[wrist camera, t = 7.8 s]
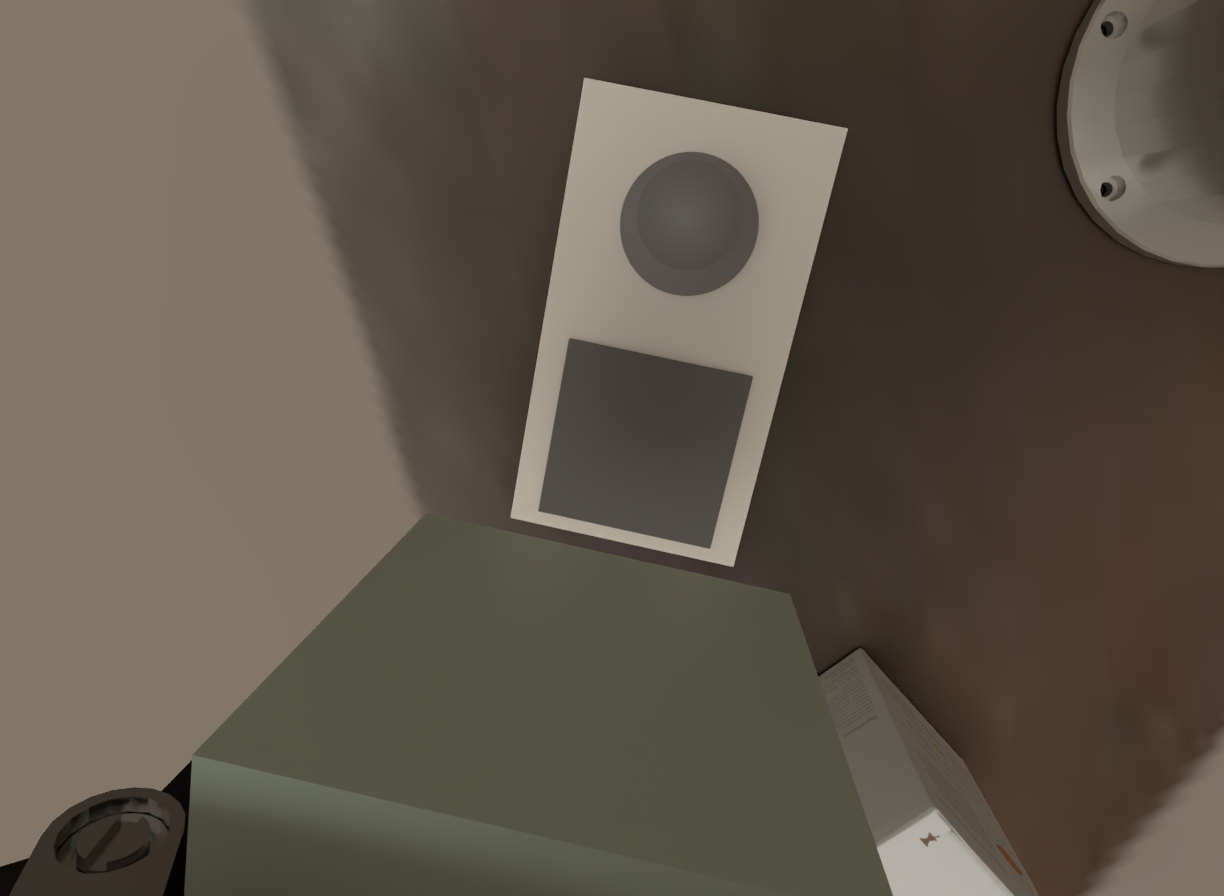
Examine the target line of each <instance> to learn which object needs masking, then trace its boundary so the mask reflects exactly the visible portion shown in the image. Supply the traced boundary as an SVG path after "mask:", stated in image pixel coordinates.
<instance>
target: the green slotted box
mask: <svg viewBox="0 0 1224 896" xmlns="http://www.w3.org/2000/svg"><path fill="white" fill-rule="evenodd" d="M184 896H893V894H892V891H891V888H890V885H889V882H888V879H887V876H886V873H885V870H884V867H883V865H882V862H881V859H880V856H879V853H878V850H877V847H876V844H875V841H874V838H873V835H872V832H871V829H870V827H869V824H868V821H867V818H866V815H865V812H864V809H863V806H862V803H861V800H860V797H859V794H858V791H857V789H856V786H855V783H854V780H853V777H852V774H851V771H850V768H849V765H848V762H847V759H846V756H845V754H844V751H843V748H842V745H841V742H840V739H839V736H838V733H837V730H836V727H835V724H834V721H833V718H832V716H831V713H830V710H829V707H828V704H827V701H826V698H825V695H824V692H823V689H822V686H821V683H820V680H819V678H818V675H817V672H816V669H815V666H814V663H813V660H812V657H811V654H810V651H809V648H808V645H807V642H806V640H805V637H804V634H803V631H802V628H801V625H800V622H799V619H798V616H797V613H796V610H795V607H794V604H793V602H792V599H791V596H790V594H787V593H783V592H778V591H774V590H769V589H765V588H760V587H756V586H751V585H747V584H742V583H738V582H733V581H729V580H724V579H720V578H715V577H711V576H706V575H702V574H697V573H693V572H688V571H684V570H679V569H675V568H670V567H666V566H661V565H657V564H652V563H648V562H643V561H639V560H634V559H630V558H625V557H621V556H616V555H612V554H607V553H603V552H598V551H594V550H589V549H585V548H580V547H576V546H571V545H567V544H562V543H558V542H553V541H549V540H545V539H540V538H536V537H531V536H527V535H522V534H518V533H513V532H509V531H504V530H500V529H495V528H491V527H486V526H482V525H477V524H473V523H468V522H464V521H459V520H455V519H450V518H446V517H441V516H437V515H432V514H428V513H426V514H425V515H424V516H423V517H422V518H421V519H420V520H419V521H418V522H417V523H416V524H415V525H414V526H413V527H412V529H411V530H410V531H409V532H408V533H407V534H406V535H405V536H404V537H403V538H402V539H401V540H400V541H399V542H398V543H397V544H396V545H395V546H394V547H393V548H392V549H391V550H390V551H389V552H388V554H386V555H385V556H384V557H383V558H382V559H381V561H380V562H379V563H378V564H377V565H376V566H375V567H374V568H373V569H372V570H371V571H370V572H369V573H368V574H367V575H366V576H365V577H364V578H363V579H362V580H361V581H360V582H359V583H358V584H357V586H355V588H353V589H352V590H351V592H350V593H349V594H348V595H347V596H346V597H345V598H344V599H343V600H342V601H341V602H340V603H339V604H338V605H337V606H336V607H335V608H334V609H333V610H332V611H331V612H330V613H329V614H328V615H327V616H326V617H325V618H324V619H323V620H322V621H321V623H320V624H319V625H318V626H317V627H316V628H315V629H314V630H313V631H312V632H311V633H310V634H309V635H308V636H307V637H306V638H305V639H304V640H303V641H302V642H301V643H300V644H299V645H298V646H297V647H296V648H295V649H294V650H293V652H291V654H290V655H289V656H288V657H287V658H286V659H285V660H284V661H283V662H282V663H281V664H280V665H279V666H278V667H277V668H276V669H275V670H274V671H273V672H272V673H271V674H270V675H269V676H268V677H267V678H266V679H265V680H264V681H263V682H262V684H261V685H260V686H259V687H258V688H257V689H256V690H255V691H254V692H253V693H252V694H251V695H250V696H249V697H248V698H247V699H246V700H245V701H244V702H243V703H242V704H241V705H240V706H239V707H238V708H237V709H236V710H235V711H234V712H233V713H232V714H231V716H230V717H229V718H228V719H227V720H226V721H225V722H224V723H223V724H222V725H221V726H220V727H219V728H218V729H217V730H216V731H215V732H214V733H213V734H212V735H211V736H210V737H209V738H208V739H207V740H206V741H205V742H204V743H203V745H202V746H201V747H200V748H199V749H198V750H197V751H196V752H195V753H194V754H193V755H192V769H191V786H190V803H189V820H188V837H187V854H186V871H185V888H184Z"/></svg>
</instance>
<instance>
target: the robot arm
mask: <svg viewBox="0 0 1224 896" xmlns="http://www.w3.org/2000/svg"><path fill="white" fill-rule="evenodd" d="M1101 25H1103V26H1104V27H1106V30H1107V33H1106V36H1104V35H1103V34H1102V31H1101V28H1100V27H1101ZM1057 139H1058V144H1059V149H1060V154H1061V158H1062V163H1063V168H1064V171H1065V173H1066V175H1067V178H1068V180H1069V182H1070V184H1071V187H1072V189H1073V191H1074V193H1075V196H1076V198H1077V199H1078V201H1079V202H1080V203H1081V205H1082V206H1083V207H1084V209H1085V210H1086V211H1087V213H1088V214H1089V215H1090V217H1091V218H1092V219H1093V221H1094V222H1095V223H1096V224H1097V225H1098V226H1099V227H1101V228H1102V229H1103V230H1104V231H1105V232H1106V233H1108V234H1109V235H1110V236H1111V237H1112V238H1113V239H1115V240H1116V241H1117V242H1119V243H1120V244H1122V245H1124V246H1126V247H1128V248H1130V249H1132V250H1134V251H1136V252H1137V253H1139V254H1141V255H1143V256H1145V257H1149V258H1152V259H1156V260H1159V261H1163V262H1166V263H1170V264H1173V265H1182V266H1194V267H1206V268H1211V267H1224V0H1094V1H1093V3H1092V5H1091V6H1090V8H1089V10H1088V12H1087V14H1086V15H1085V17H1084V19H1083V21H1082V23H1081V24H1080V26H1079V28H1078V30H1077V32H1076V34H1075V36H1074V39H1073V42H1072V45H1071V47H1070V50H1069V53H1068V56H1067V59H1066V61H1065V64H1064V67H1063V71H1062V77H1061V82H1060V88H1059V94H1058V100H1057ZM1102 184H1104V185H1105V187H1106V192H1105V194H1104V195H1103V196H1101V192H1100V189H1101V185H1102ZM191 769H192V761H191V762H190V763H189V764H188V765H187V766H186V767H185V768H184V769H183V770H182V771H181V772H180V773H179V774H178V775H177V776H176V777H175V778H174V779H173V780H172V781H171V782H170V783H169V784H168V785H167V786H166V787H165V788H164V789H163V790H162V791H158V790H155V789H149V788H126V789H118V790H112V791H108V792H105V793H102V794H99V795H96V796H93V797H90V798H88V799H86V800H84V801H82V802H80V803H78V804H76V805H74V806H72V807H70V808H69V809H68V810H66V811H65V812H64V813H63V814H61V815H60V816H59V817H57V818H56V819H55V820H54V821H52V823H51V824H50V825H49V827H48V828H47V829H46V831H45V832H44V833H43V834H42V836H41V837H40V839H39V841H38V843H37V845H36V847H35V848H34V850H33V852H32V854H31V856H30V858H28V859H25V860H21V861H18V862H15V863H11V864H8V865H5V866H2V867H0V896H184V888H185V871H186V854H187V837H188V820H189V803H190V786H191Z"/></svg>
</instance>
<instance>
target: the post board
mask: <svg viewBox="0 0 1224 896" xmlns="http://www.w3.org/2000/svg"><path fill="white" fill-rule="evenodd" d="M847 130H848V128H843V127H838V126H832V125H827V124H822V123H817V122H812V121H806V120H801V119H796V118H791V117H786V116H780V115H775V114H770V113H765V112H760V111H755V110H749V109H744V108H739V107H734V106H729V105H723V104H718V103H713V102H708V101H703V100H698V99H692V98H687V97H682V96H677V95H672V94H666V93H661V92H656V91H651V90H646V89H640V88H635V87H630V86H625V85H620V84H615V83H609V82H604V81H599V80H594V79H589V78H584V82H583V88H582V94H581V100H580V106H579V112H578V118H577V124H576V130H575V136H574V142H573V148H572V154H571V160H570V166H569V172H568V178H567V184H566V190H565V196H564V202H563V208H562V214H561V220H560V226H559V231H558V237H557V243H556V249H555V255H554V261H553V267H552V273H551V279H550V285H549V291H548V297H547V303H546V309H545V315H544V321H543V327H542V333H541V339H540V345H539V351H538V357H537V363H536V369H535V375H534V380H533V386H532V392H531V398H530V404H529V410H528V416H527V422H526V428H525V434H524V440H523V446H522V452H521V458H520V464H519V470H518V476H517V482H516V488H515V494H514V500H513V506H512V512H511V518H514V519H519V520H523V521H528V522H532V523H537V524H541V525H546V526H550V527H555V528H559V529H564V530H568V531H573V532H577V533H582V534H586V535H591V536H596V537H600V538H605V539H609V540H614V541H618V542H623V543H627V544H632V545H636V546H641V547H645V548H650V549H654V550H659V551H663V552H668V553H673V554H677V555H682V556H686V557H691V558H695V559H700V560H704V561H709V562H713V563H718V564H722V565H727V566H731V567H733V566H734V563H735V559H736V555H737V551H738V547H739V543H740V540H741V536H742V532H743V528H744V524H745V520H746V517H747V513H748V509H749V505H750V501H751V498H752V494H753V490H754V486H755V482H756V478H757V475H758V471H759V467H760V463H761V459H762V455H763V452H764V448H765V444H766V440H767V436H768V432H769V429H770V425H771V421H772V417H773V413H774V409H775V406H776V402H777V398H778V394H779V390H780V386H781V383H782V379H783V375H784V371H785V367H786V364H787V360H788V356H789V352H790V348H791V344H792V341H793V337H794V333H795V329H796V325H797V321H798V318H799V314H800V310H801V306H802V302H803V298H804V295H805V291H806V287H807V283H808V279H809V275H810V272H811V268H812V264H813V260H814V256H815V252H816V249H817V245H818V241H819V237H820V233H821V230H822V226H823V222H824V218H825V214H826V210H827V207H828V203H829V199H830V195H831V191H832V187H833V184H834V180H835V176H836V172H837V168H838V164H839V161H840V157H841V153H842V149H843V145H844V141H845V138H846V134H847Z"/></svg>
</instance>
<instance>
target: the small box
mask: <svg viewBox="0 0 1224 896" xmlns="http://www.w3.org/2000/svg"><path fill="white" fill-rule="evenodd" d="M818 678H819V680H820V683H821V686H822V689H823V692H824V695H825V698H826V701H827V704H828V707H829V710H830V713H831V716H832V718H833V721H834V724H835V727H836V730H837V733H838V736H839V739H840V742H841V745H842V748H843V751H844V754H845V756H846V759H847V762H848V765H849V768H850V771H851V774H852V777H853V780H854V783H855V786H856V789H857V791H858V794H859V797H860V800H861V803H862V806H863V809H864V812H865V815H866V818H867V821H868V824H869V827H870V829H871V832H872V835H873V838H874V841H875V844H876V847H877V850H878V853H879V856H880V859H881V862H882V865H883V867H884V870H885V873H886V876H887V879H888V882H889V885H890V888H891V891H892V894H893V896H1039V895H1038V893H1037V891H1036V889H1035V887H1034V886H1033V884H1032V882H1031V880H1030V878H1029V877H1028V875H1027V873H1026V872H1025V870H1024V868H1023V866H1022V865H1021V863H1020V861H1019V859H1018V857H1017V856H1016V854H1015V852H1014V850H1013V849H1012V847H1011V845H1010V843H1009V841H1008V840H1007V838H1006V836H1005V834H1004V833H1003V831H1002V829H1001V827H1000V825H999V824H998V822H997V820H996V818H995V817H994V815H993V813H992V811H991V809H990V808H989V806H988V804H987V802H986V800H985V799H984V797H983V795H982V793H981V791H980V790H979V788H978V786H977V784H976V783H975V781H974V779H973V777H972V775H971V773H970V772H969V770H968V768H967V767H966V765H965V763H964V761H963V759H962V758H961V757H960V756H959V755H958V754H957V753H956V752H955V751H954V750H953V749H952V748H951V747H950V746H949V744H948V743H947V742H946V741H945V740H944V739H943V738H942V737H941V736H940V735H939V733H938V732H937V731H936V730H935V729H934V728H933V727H932V726H931V725H930V724H929V722H928V721H927V720H926V719H925V718H924V717H923V716H922V715H921V714H920V713H919V711H918V710H917V709H916V708H915V707H914V706H913V705H912V704H911V703H910V701H909V700H908V699H907V698H906V697H905V696H904V695H903V694H902V693H901V691H900V690H899V689H898V688H897V687H896V686H895V685H894V684H893V683H892V682H891V681H890V679H889V678H888V677H887V676H886V675H885V674H884V673H883V672H882V671H881V669H880V668H879V667H878V666H877V665H876V664H875V663H874V662H873V661H872V659H871V658H870V657H869V656H868V655H867V654H866V652H865V651H864V650H863V649H861V648H859V649H857V650H856V651H855V652H853V653H852V654H850V655H849V656H847V657H846V658H844V659H843V660H842V661H840V662H839V663H837V664H836V665H834V666H833V667H832V668H830V669H829V670H827V671H826V672H824V673H823V674H821V675H820V676H819V677H818Z"/></svg>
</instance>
